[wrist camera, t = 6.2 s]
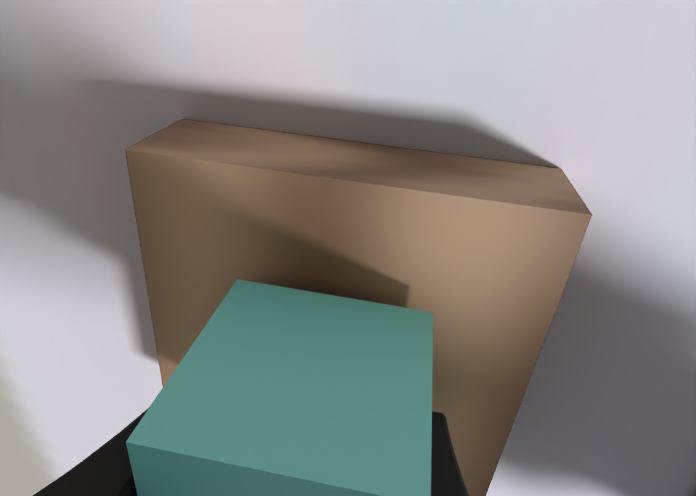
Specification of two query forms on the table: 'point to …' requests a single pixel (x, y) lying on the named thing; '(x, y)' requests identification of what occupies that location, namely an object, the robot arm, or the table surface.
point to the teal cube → (294, 401)
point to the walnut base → (365, 251)
